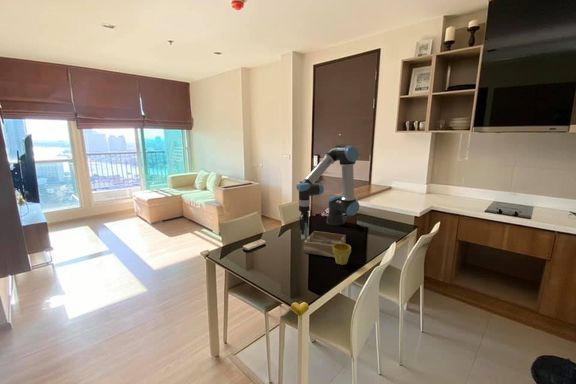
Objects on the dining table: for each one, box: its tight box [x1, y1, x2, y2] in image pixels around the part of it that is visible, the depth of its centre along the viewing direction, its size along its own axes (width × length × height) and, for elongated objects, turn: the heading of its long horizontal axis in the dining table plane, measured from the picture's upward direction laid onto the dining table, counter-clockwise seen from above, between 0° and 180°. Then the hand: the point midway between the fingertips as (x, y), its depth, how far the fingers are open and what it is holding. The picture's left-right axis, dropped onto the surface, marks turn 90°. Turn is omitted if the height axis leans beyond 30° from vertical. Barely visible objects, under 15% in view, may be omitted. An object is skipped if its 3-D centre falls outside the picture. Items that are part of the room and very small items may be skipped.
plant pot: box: [333, 243, 352, 266], centre depth 158 cm, size 10×10×10 cm
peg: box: [300, 222, 308, 241], centre depth 194 cm, size 4×4×12 cm
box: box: [303, 230, 347, 258], centre depth 178 cm, size 22×22×7 cm
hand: (304, 237), depth 195 cm, fingers closed on peg, 4 cm apart
